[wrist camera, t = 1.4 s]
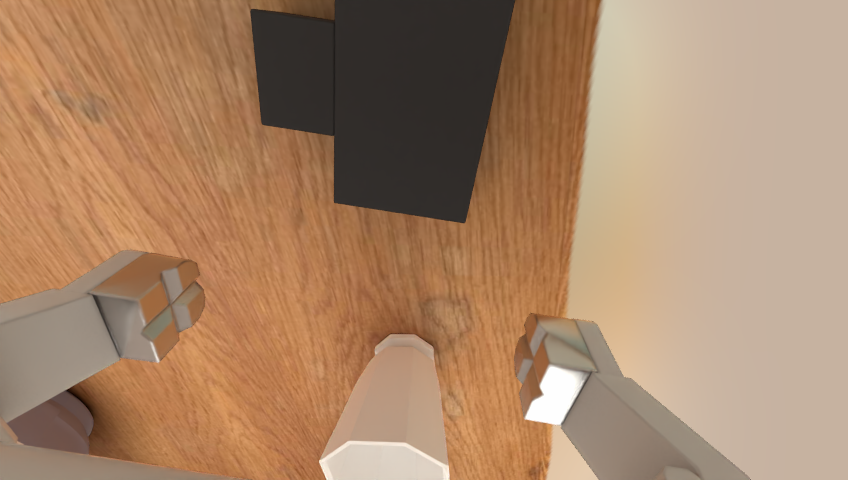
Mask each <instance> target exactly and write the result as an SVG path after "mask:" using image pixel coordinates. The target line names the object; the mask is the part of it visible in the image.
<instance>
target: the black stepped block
mask: <svg viewBox="0 0 848 480" xmlns="http://www.w3.org/2000/svg"><path fill="white" fill-rule="evenodd" d="M514 3H515V0H335V21H334V20H328V19H322V18H315V17H309V16H303V15H296V14H290V13H283V12H275V11H266V10H258V9H251V11H250V12H251V22H252V32H253V42H254V52H255V62H256V72H257V82H258V92H259V102H260V112H261V122H262V124H263V125H267V126H273V127H280V128H286V129H292V130H299V131H305V132H311V133H318V134H324V135H330V136H334V203H339V204H345V205H351V206H358V207H364V208H371V209H377V210H383V211H390V212H396V213H402V214H409V215H415V216H421V217H428V218H434V219H441V220H447V221H453V222H460V223H465V222H466V218H467V213H468V209H469V204H470V200H471V195H472V191H473V186H474V182H475V177H476V173H477V168H478V164H479V159H480V155H481V150H482V146H483V142H484V137H485V133H486V128H487V124H488V119H489V115H490V110H491V106H492V101H493V97H494V92H495V88H496V83H497V79H498V74H499V70H500V65H501V61H502V57H503V52H504V48H505V43H506V39H507V34H508V30H509V25H510V21H511V16H512V12H513V7H514Z"/></svg>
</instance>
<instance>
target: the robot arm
mask: <svg viewBox="0 0 848 480" xmlns="http://www.w3.org/2000/svg"><path fill="white" fill-rule="evenodd" d="M199 276H200V272H199V269H198V265H197V263H196V262H194V261H192V260H189V259H183V258H178V257H172V256H166V255H161V254H155V253H148V252H142V251H136V250H124V251H121V252H119V253H117V254H116V255H114V256H113V257H111V258H109V259H108V260H106V261H105V262H103V263H102V264H100V265H98V266H97V267H95V268H94V269H92V270H90V271H89V272H87V273H86V274H84V275H83V276H81V277H79V278H78V279H76V280H75V281H73V282H71V283H70V284H68V285H67V286H65V287H64V288H62V289H60V290H59V289H50V290H46V291H43V292H39V293H36V294H33V295H29V296H26V297H22V298H19V299H15V300H12V301H8V302H5V303H1V304H0V480H251V479H244V478H238V477H231V476H225V475H218V474H212V473H205V472H198V471H192V470H185V469H179V468H172V467H166V466H159V465H153V464H146V463H140V462H133V461H126V460H120V459H113V458H107V457H100V456H94V455H87V454H81V453H74V452H68V451H61V450H55V449H48V448H41V447H35V446H28V445H22V444H17V440H18V437H17V436H16V435H15V433H14V432H13V431H12V429H11V428H10V427H9V426H8V424H7V422H9V421H11V420H13V419H14V418H16V417H18V416H20V415H22V414H23V413H25V412H27V411H29V410H31V409H32V408H34V407H36V406H38V405H40V404H42V403H43V402H45V401H47V400H49V399H51V398H52V397H54V396H56V395H58V394H60V393H61V392H63V391H65V390H67V389H69V388H70V387H72V386H74V385H76V384H78V383H79V382H81V381H83V380H85V379H87V378H88V377H90V376H92V375H94V374H96V373H98V372H99V371H101V370H103V369H105V368H107V367H108V366H110V365H112V364H114V363H116V362H117V361H119V360H120V358H126V359H134V360H142V361H150V362H158V363H159V362H160V361H161V360H162V359H163V358H164V357H165V355H166V354H167V353H168V352H169V351H170V350H171V349H172V348H173V347H174V346H175V345H176V343H177V342H178V341H179V332H181V331H183V330H185V329H188V328H190V327H192V326H193V325H194V324H195V322H196V321H197V320H198V319H199V318H200V316H201V313H202V311H203V309H204V306H205V294H204V289H203V288H202V287H201V286H200V285H199V284H198V283H197V282H196V280H197V278H198V277H199ZM524 326H525V331H526V334H525V335H523V336H522V337H520V338H519V340H518V343H517V346H516V350H515V358H514V362H515V373H516V377H517V378H518V379H519V381H520V382H521V383H522V384H523V385H522V387H521V390H520V392H519V395H520V400H521V405H522V410H523V416H524V419H526V420H532V421H537V422H543V423H548V424H554V425H559V426H561V429H562V430H563V431H564V433H565V434H566V435H567V437H568V438H569V439H570V441H571V442H572V444H573V445H574V446H575V448H576V449H577V450H578V452H579V453H580V454H581V456H582V457H583V459H584V460H585V461H586V463H587V464H588V465H589V467H590V468H591V469H592V471H593V472H594V474H595V475H596V476H597V478H598V479H599V480H751V479H750V478H749V477H748V476H747V475H746V474H745V473H744V472H742V471H741V470H740V469H739V468H738V467H736V466H735V465H734V464H733V463H732V462H730V461H729V460H728V459H727V458H726V457H724V456H723V455H722V454H721V453H720V452H718V451H717V450H716V449H715V448H714V447H712V446H711V445H710V444H709V443H708V442H706V441H705V440H704V439H703V438H702V437H700V436H699V435H698V434H697V433H696V432H694V431H693V430H692V429H691V428H690V427H688V426H687V425H686V424H685V423H684V422H683V421H681V420H680V419H679V418H678V417H677V416H675V415H674V414H673V413H672V412H670V411H669V410H668V409H667V408H666V407H665V406H663V405H662V404H661V403H660V402H659V401H657V400H656V399H655V398H654V397H653V396H651V395H650V394H649V393H648V392H646V391H645V390H644V389H643V388H642V387H641V386H639V385H638V384H637V383H636V382H635V381H633V380H632V379H631V378H626V377H624V376H623V374H622V373H621V371H620V369H619V366H618V365H617V363H616V361H615V359H614V357H613V355H612V353H611V351H610V349H609V347H608V345H607V343H606V341H605V339H604V337H603V335H602V333H601V331H600V329H599V327H598V325H597V324H596V323H594V322H593V321H586V320H579V319H568V318H561V317H554V316H548V315H541V314H534V313H530V314H529V316H528V317H527V319H526V322H525V324H524Z"/></svg>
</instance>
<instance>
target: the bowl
mask: <svg viewBox="0 0 848 480" xmlns="http://www.w3.org/2000/svg"><path fill="white" fill-rule="evenodd" d="M7 424H8V426H9V427H10V428H11V429H12V431H13V432H14V433H15V435H16V436H17V437H18V440H17V444H22V445H28V446H35V447H41V448H48V449H55V450H61V451H68V452H74V453H81V454H87V455H89V446H90V445H89V439H88V436H89V435H90V434H91V432H92V429H93V425H94V421H93V417H92V415H91V413H90V412H89V410H88V409H87V408H86V406H85V405H84V404H83V403H82V402H81V401H80V400H79V399H78V398H77V397H75V396H74V395H73V394H71V393H70V392H68V391H66V390H65V391H63V392H61V393H60V394H58V395H56V396H54V397H52V398H51V399H49V400H47V401H45V402H43V403H42V404H40V405H38V406H36V407H34V408H32V409H31V410H29V411H27V412H25V413H23V414H22V415H20V416H18V417H16V418H14V419H13V420H11V421H9V422H7Z"/></svg>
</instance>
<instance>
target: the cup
mask: <svg viewBox="0 0 848 480" xmlns="http://www.w3.org/2000/svg"><path fill="white" fill-rule="evenodd" d="M374 351H375V357H373V358H372V359H371V360H370V361H369V363H368V365H367V366H366V368H365V370H364V371H363V373H362V374H361V376H360V378H359V379H358V381H357V382H356V384H355V386H354V388H353V390H352V393H351V395H350V397H349V399H348V401H347V403H346V406H345V408H344V410H343V412H342V414H341V416H340V419H339V421H338V423H337V425H336V427H335V429H334V431H333V433H332V435H331V437H330V439H329V441H328V443H327V445H326V447H325V450H324V452H323V454H322V456H321V458H320V460H319V462H320V465H321V467H322V470H323V472H324V475H325V477H326V479H327V480H450V478H449V465H448V456H447V447H446V438H445V430H444V422H443V413H442V404H441V394H440V385H439V381H438V377H437V372H436V368H435V360H434V349H433V346H431V345H430V344H428V343H427V342H425V341H424V340H422V339H421V338H420V337H418V336H417V335H415V334H390V335H389V336H387V337H386V338H385V339H384V340H383V341H381V342H380V343H379V344H378V345H377V346H375V350H374Z"/></svg>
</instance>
